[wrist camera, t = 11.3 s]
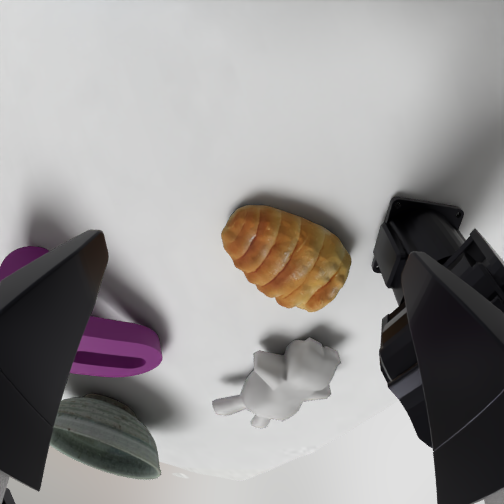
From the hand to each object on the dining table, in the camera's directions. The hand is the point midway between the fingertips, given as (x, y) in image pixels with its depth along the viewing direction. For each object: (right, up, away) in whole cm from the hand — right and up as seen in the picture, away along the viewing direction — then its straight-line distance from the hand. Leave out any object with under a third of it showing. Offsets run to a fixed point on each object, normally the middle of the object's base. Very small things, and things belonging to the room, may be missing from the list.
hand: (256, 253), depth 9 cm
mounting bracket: (-17, -6, +22) cm, 29 cm away
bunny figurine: (+3, -13, +25) cm, 28 cm away
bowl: (-23, -25, +36) cm, 49 cm away
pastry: (+3, 0, +16) cm, 16 cm away
